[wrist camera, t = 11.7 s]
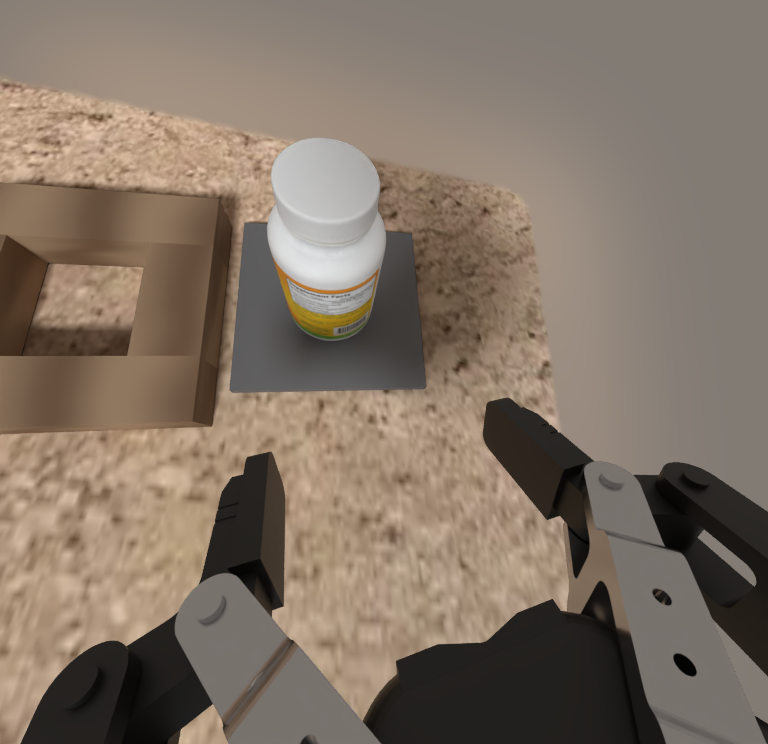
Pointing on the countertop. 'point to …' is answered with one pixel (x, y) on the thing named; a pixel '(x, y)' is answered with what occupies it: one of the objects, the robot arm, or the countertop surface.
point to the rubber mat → (319, 357)
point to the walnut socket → (152, 317)
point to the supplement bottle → (327, 235)
